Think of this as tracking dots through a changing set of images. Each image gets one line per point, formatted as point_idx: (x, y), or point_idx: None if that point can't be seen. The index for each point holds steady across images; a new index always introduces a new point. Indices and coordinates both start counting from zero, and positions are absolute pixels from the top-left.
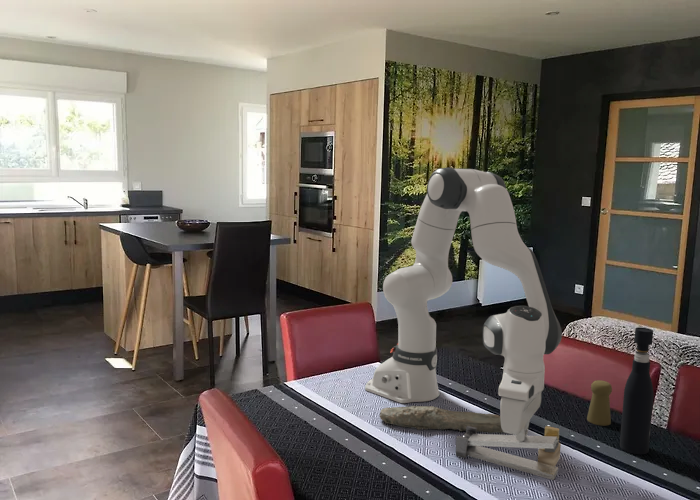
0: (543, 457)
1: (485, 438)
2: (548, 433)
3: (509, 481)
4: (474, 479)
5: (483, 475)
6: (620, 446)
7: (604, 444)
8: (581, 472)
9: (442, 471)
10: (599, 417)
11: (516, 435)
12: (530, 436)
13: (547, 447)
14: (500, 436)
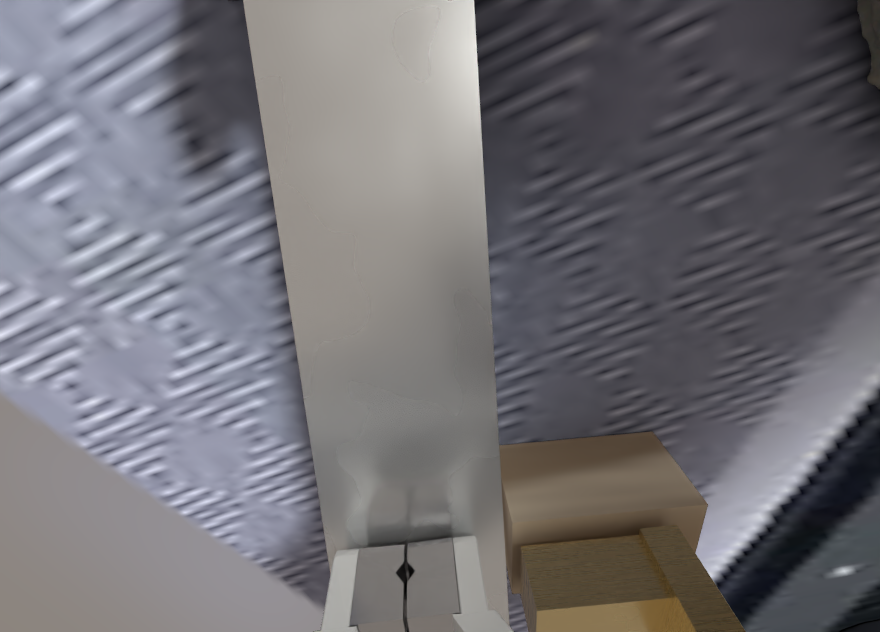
0: (503, 514)
1: (348, 158)
2: (676, 624)
3: (203, 401)
4: (20, 225)
5: (126, 253)
6: (860, 629)
7: (870, 582)
8: None
9: None
10: None
11: (329, 591)
12: (490, 602)
13: None
14: (440, 318)
